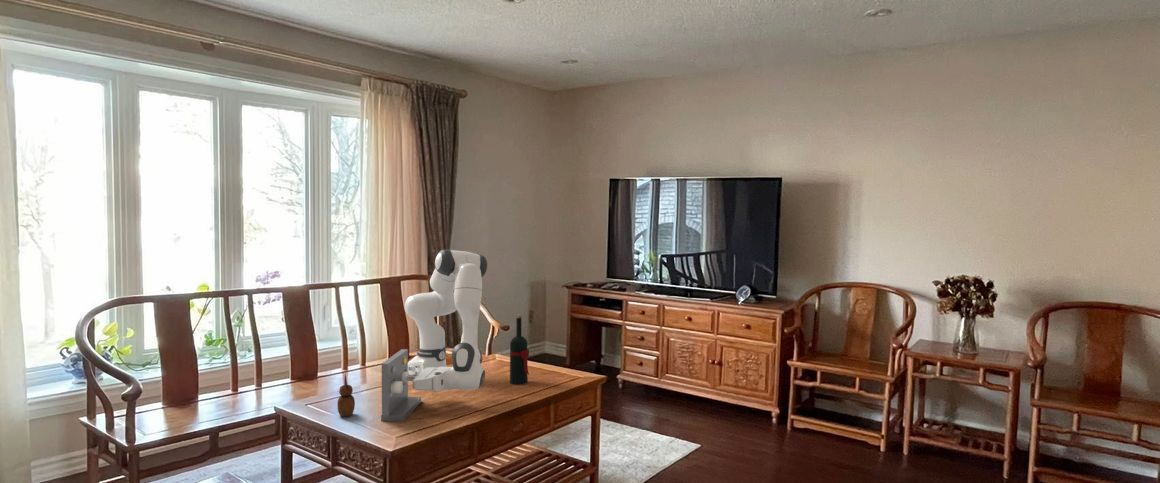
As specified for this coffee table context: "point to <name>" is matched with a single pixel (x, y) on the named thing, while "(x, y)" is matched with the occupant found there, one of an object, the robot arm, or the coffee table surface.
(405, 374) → the beige rounded lump
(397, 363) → the control panel
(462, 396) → the coffee table surface
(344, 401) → the wooden figurine
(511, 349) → the wine bottle
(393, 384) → the unlit button
